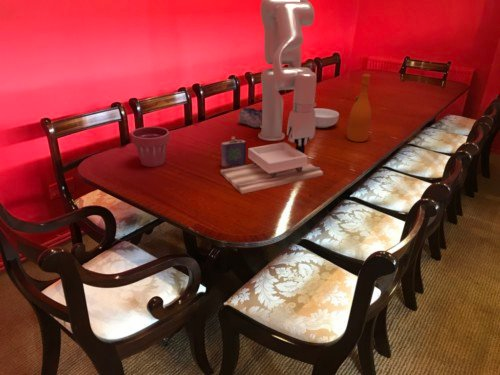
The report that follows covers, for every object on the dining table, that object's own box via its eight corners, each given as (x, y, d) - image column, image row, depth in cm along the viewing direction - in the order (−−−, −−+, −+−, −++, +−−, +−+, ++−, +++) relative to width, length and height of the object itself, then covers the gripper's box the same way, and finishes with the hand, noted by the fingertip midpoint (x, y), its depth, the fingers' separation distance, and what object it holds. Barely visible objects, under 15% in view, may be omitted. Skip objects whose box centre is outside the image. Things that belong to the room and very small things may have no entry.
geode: (279, 126, 198) (279, 107, 192) (267, 134, 190) (267, 116, 184) (247, 117, 207) (246, 100, 202) (234, 125, 200) (233, 107, 194)
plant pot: (178, 160, 156) (176, 130, 150) (154, 172, 145) (150, 140, 139) (152, 153, 162) (149, 124, 156) (127, 164, 151) (122, 133, 146)
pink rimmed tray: (248, 163, 147) (248, 148, 145) (283, 156, 154) (284, 142, 151) (268, 179, 135) (269, 163, 132) (306, 171, 141) (307, 156, 139)
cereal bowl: (337, 132, 190) (339, 118, 186) (303, 129, 193) (304, 115, 189) (337, 122, 205) (339, 108, 201) (306, 119, 207) (307, 106, 204)
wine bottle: (364, 135, 185) (374, 71, 172) (370, 142, 177) (381, 76, 163) (344, 135, 185) (352, 71, 171) (349, 142, 176) (358, 76, 163)
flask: (222, 167, 150) (222, 139, 145) (220, 164, 152) (220, 137, 147) (246, 164, 153) (247, 137, 147) (244, 161, 155) (244, 134, 150)
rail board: (220, 173, 145) (220, 168, 144) (296, 158, 159) (296, 153, 158) (241, 193, 131) (241, 187, 130) (322, 175, 145) (323, 169, 144)
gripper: (314, 102, 145) (310, 148, 153) (280, 107, 138) (278, 154, 147) (326, 107, 139) (321, 154, 147) (291, 112, 133) (288, 161, 141)
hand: (299, 154), depth 147 cm, fingers closed
